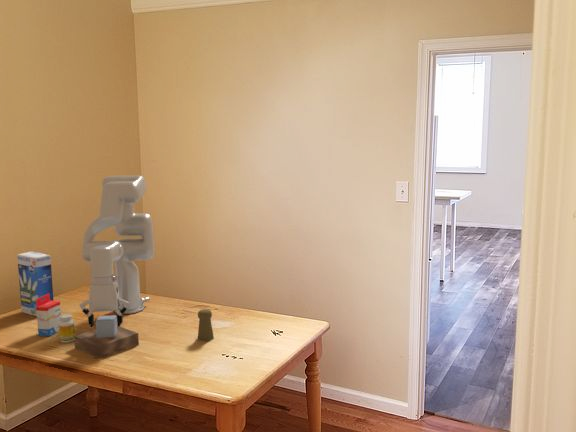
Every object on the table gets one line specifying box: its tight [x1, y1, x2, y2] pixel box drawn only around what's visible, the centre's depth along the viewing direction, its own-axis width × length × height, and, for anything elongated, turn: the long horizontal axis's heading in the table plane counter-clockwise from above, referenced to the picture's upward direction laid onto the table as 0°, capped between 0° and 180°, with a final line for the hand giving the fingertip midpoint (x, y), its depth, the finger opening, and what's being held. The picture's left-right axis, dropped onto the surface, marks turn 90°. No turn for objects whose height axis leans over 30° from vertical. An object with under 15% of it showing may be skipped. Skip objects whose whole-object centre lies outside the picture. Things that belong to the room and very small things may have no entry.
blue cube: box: [95, 315, 118, 338], centre depth 207 cm, size 6×6×6 cm
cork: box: [197, 308, 215, 342], centre depth 214 cm, size 6×6×11 cm
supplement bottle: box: [58, 313, 76, 344], centre depth 213 cm, size 5×5×10 cm
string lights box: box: [16, 251, 54, 317], centre depth 245 cm, size 13×8×26 cm, turn 58°
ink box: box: [36, 293, 62, 337], centre depth 221 cm, size 8×5×15 cm, turn 168°
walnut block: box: [74, 325, 140, 360], centre depth 207 cm, size 16×16×5 cm
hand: (105, 325), depth 206 cm, fingers open, 9 cm apart
